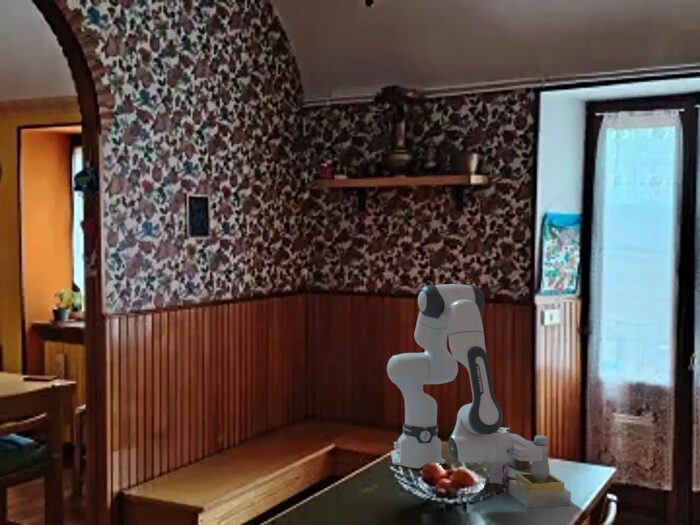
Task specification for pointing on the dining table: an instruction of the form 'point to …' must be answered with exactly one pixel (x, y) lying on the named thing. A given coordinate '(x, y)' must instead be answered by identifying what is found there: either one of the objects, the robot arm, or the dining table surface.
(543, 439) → the salt shaker
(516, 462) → the food item
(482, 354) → the robot arm
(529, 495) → the yellow and grey tray
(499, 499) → the dining table surface
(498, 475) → the candy bar box
